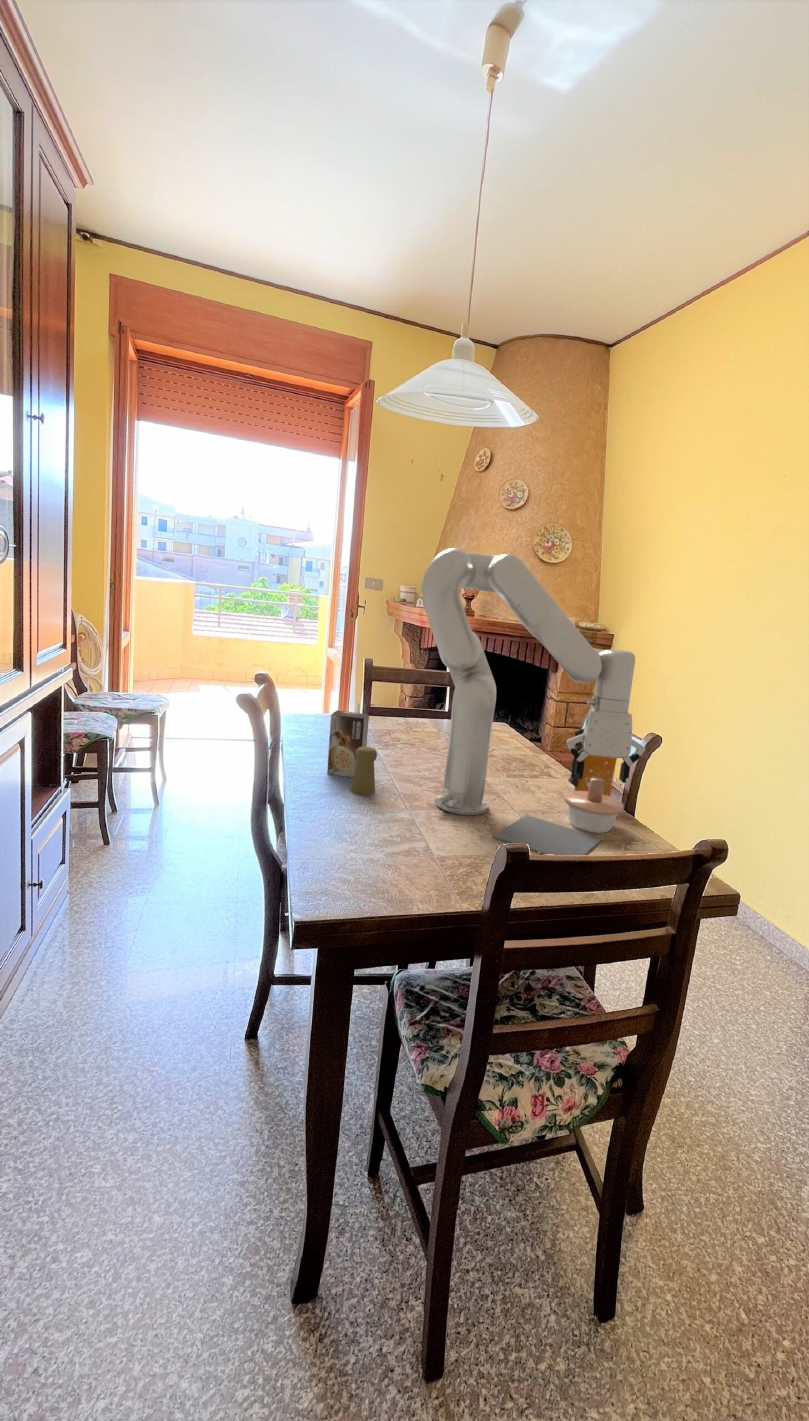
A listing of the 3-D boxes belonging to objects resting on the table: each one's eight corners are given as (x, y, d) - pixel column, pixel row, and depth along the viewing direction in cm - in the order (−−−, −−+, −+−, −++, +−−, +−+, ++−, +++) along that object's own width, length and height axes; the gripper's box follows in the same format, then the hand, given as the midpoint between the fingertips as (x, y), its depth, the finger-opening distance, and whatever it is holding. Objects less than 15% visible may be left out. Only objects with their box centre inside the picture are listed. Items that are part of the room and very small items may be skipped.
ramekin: (624, 835, 141) (628, 813, 140) (579, 835, 139) (582, 812, 138) (599, 817, 152) (603, 796, 151) (557, 816, 149) (560, 795, 148)
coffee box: (365, 772, 168) (370, 714, 165) (359, 779, 162) (365, 718, 159) (332, 767, 170) (337, 709, 167) (325, 774, 164) (330, 713, 161)
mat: (574, 865, 122) (574, 863, 122) (491, 837, 132) (491, 835, 132) (602, 839, 137) (602, 838, 137) (526, 816, 147) (526, 815, 147)
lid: (613, 819, 135) (617, 792, 134) (556, 803, 143) (559, 777, 141) (630, 805, 146) (634, 780, 145) (576, 791, 153) (579, 767, 152)
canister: (613, 809, 158) (626, 732, 155) (569, 805, 158) (581, 728, 155) (603, 797, 167) (615, 724, 163) (561, 793, 167) (572, 720, 163)
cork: (378, 790, 155) (383, 747, 153) (369, 797, 149) (373, 752, 147) (356, 785, 157) (360, 743, 155) (346, 792, 151) (350, 748, 149)
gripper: (574, 705, 137) (565, 780, 140) (655, 711, 136) (644, 787, 139) (568, 699, 144) (559, 771, 147) (645, 705, 143) (634, 778, 146)
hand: (600, 779), depth 143 cm, fingers open, 9 cm apart
